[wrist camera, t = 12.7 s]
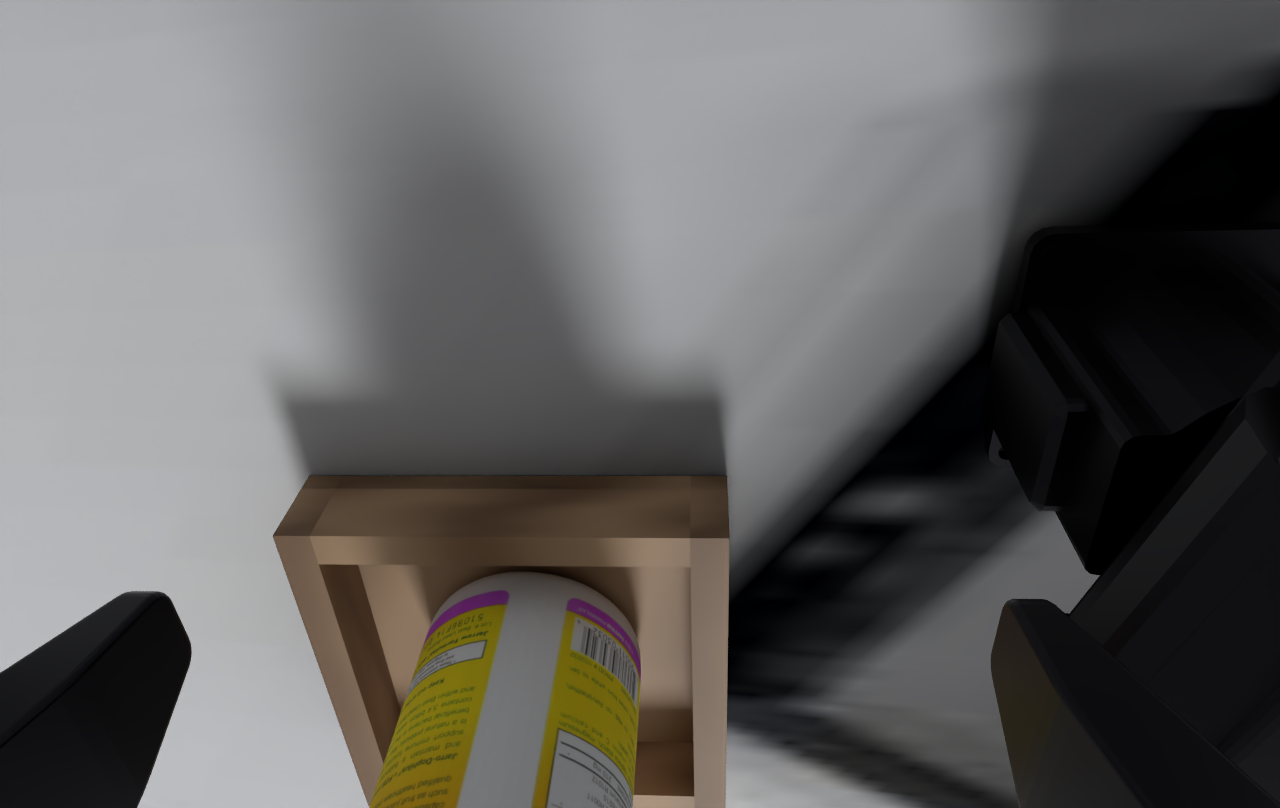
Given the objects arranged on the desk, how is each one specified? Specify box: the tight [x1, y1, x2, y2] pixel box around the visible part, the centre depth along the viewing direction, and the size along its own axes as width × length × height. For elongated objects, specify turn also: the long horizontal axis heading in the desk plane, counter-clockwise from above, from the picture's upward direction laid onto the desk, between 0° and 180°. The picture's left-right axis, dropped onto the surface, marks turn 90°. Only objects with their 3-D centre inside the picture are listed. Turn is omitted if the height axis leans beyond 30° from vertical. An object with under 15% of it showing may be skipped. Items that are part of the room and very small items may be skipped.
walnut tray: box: [273, 476, 729, 808], centre depth 27 cm, size 12×12×3 cm
